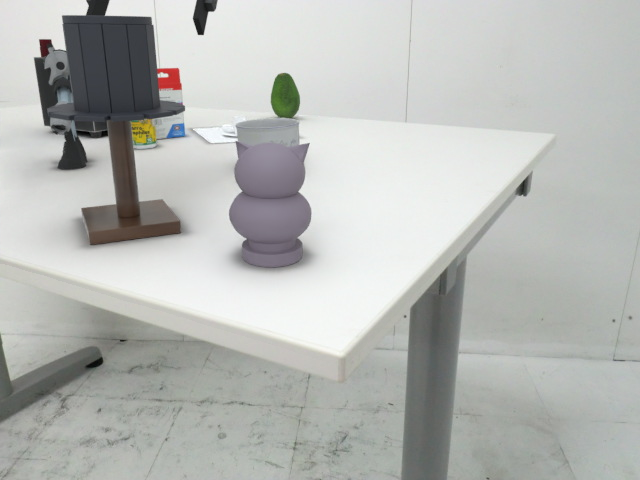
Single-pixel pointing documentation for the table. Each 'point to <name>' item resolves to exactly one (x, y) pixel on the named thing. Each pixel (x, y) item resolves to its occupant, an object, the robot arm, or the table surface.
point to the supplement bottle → (144, 133)
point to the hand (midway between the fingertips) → (144, 26)
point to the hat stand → (127, 199)
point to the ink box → (172, 92)
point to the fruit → (285, 96)
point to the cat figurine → (270, 203)
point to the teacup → (269, 131)
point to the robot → (59, 76)
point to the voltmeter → (50, 99)
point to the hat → (112, 70)
